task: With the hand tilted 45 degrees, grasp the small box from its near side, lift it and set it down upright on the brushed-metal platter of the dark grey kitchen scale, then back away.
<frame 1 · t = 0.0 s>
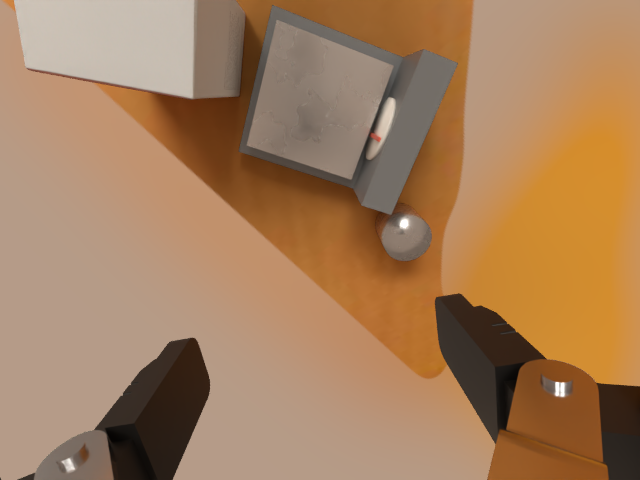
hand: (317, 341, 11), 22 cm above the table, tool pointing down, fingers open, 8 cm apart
small box: (195, 48, 27), on the table
scale base: (329, 110, 29), on the table
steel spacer: (396, 223, 34), on the table
platter: (317, 106, 26), point 3 cm above the table, slide at -0.2 cm
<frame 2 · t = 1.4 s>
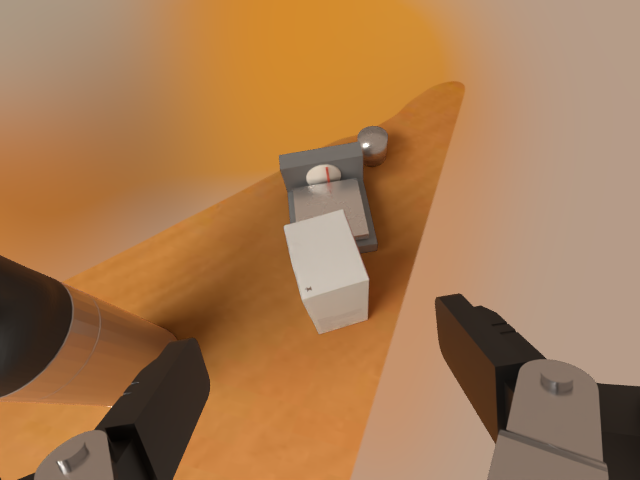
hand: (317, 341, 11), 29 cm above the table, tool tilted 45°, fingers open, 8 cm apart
small box: (334, 297, 42), on the table
scale base: (329, 216, 47), on the table
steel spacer: (371, 155, 52), on the table
platter: (329, 212, 44), point 3 cm above the table, slide at -0.2 cm
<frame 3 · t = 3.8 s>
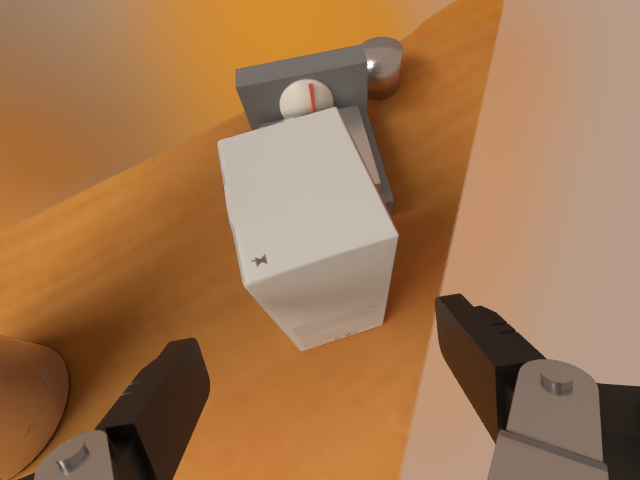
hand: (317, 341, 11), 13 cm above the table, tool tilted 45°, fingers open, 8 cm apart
small box: (326, 289, 25), on the table
scale base: (318, 168, 31), on the table
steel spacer: (378, 86, 36), on the table
platter: (315, 156, 28), point 3 cm above the table, slide at -0.2 cm
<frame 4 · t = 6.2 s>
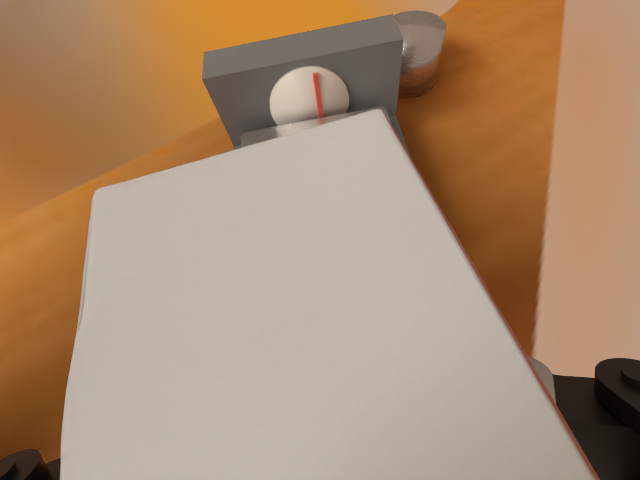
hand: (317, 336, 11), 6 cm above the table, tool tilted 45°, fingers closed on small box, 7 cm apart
small box: (340, 397, 16), on the table, touching gripper
scale base: (325, 196, 22), on the table
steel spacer: (406, 80, 26), on the table
platter: (323, 182, 19), point 3 cm above the table, slide at -0.2 cm
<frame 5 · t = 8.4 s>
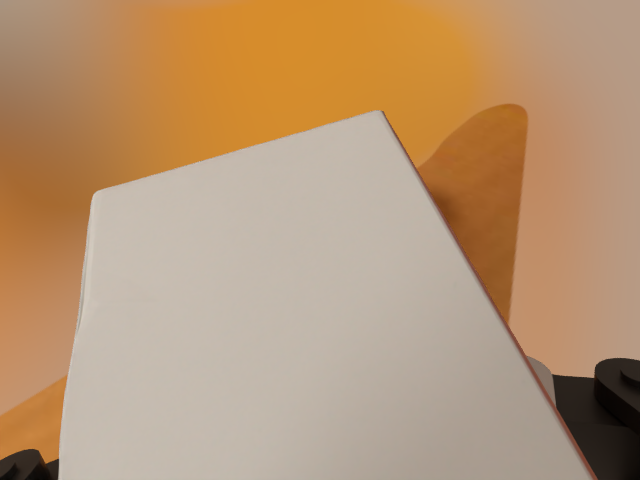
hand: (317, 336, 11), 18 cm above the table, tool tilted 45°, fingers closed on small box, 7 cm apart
small box: (340, 398, 16), point 12 cm above the table, touching gripper
when the fingers open (11 cm above the table, at t = 10.6 s): small box drops 2 cm, resting on platter.
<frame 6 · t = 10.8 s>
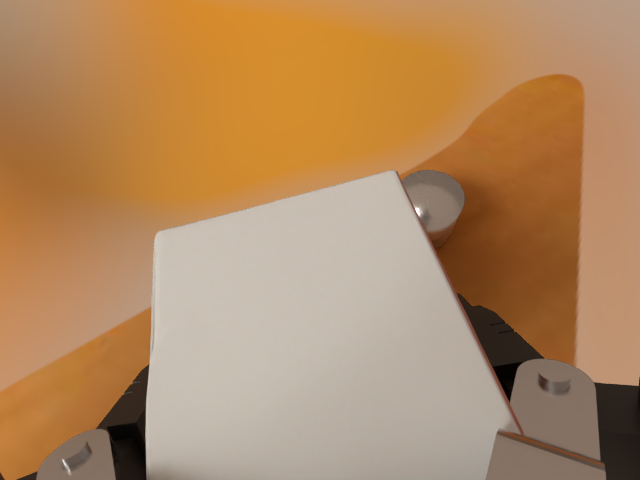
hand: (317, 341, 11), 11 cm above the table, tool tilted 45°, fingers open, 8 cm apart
small box: (346, 402, 17), point 3 cm above the table, touching platter
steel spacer: (421, 226, 25), on the table
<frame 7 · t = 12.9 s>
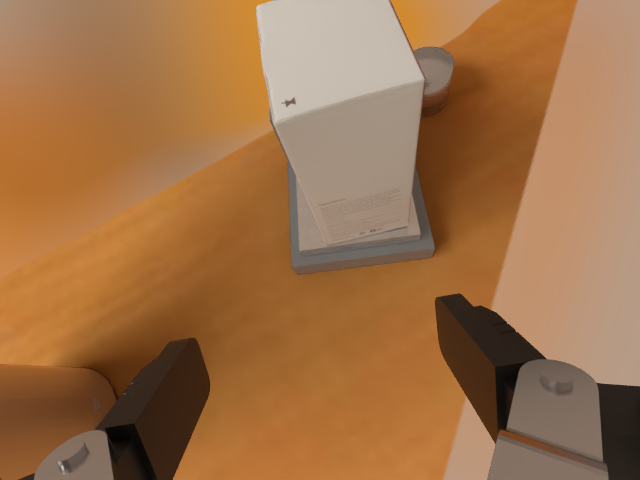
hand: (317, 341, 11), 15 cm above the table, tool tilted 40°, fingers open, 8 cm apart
small box: (355, 193, 26), point 3 cm above the table, touching platter
scale base: (354, 198, 30), on the table
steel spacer: (423, 99, 33), on the table
platter: (352, 195, 27), point 3 cm above the table, slide at -0.5 cm, touching small box
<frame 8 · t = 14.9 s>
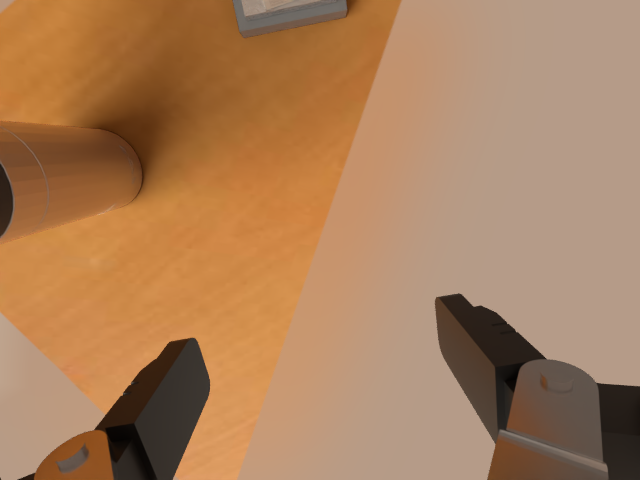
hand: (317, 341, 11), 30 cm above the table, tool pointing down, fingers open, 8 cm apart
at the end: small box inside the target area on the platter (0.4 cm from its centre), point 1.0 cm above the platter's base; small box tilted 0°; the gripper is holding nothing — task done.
